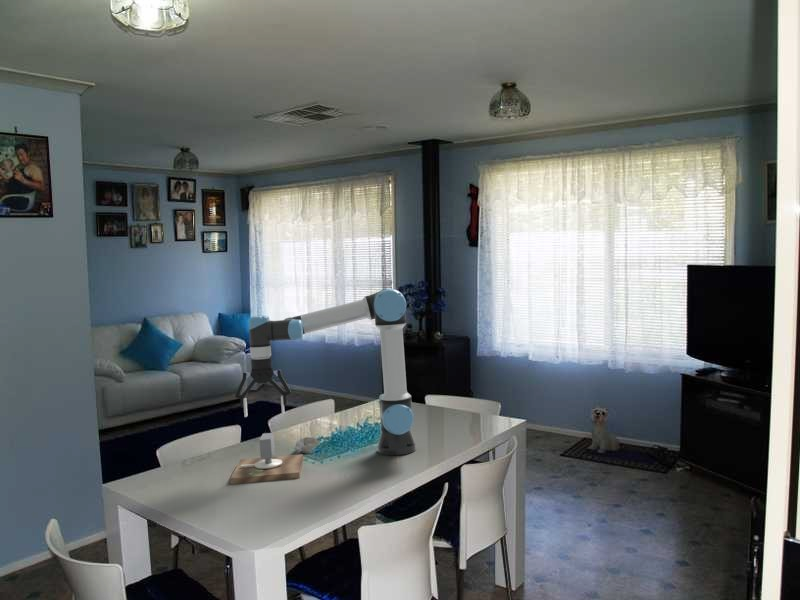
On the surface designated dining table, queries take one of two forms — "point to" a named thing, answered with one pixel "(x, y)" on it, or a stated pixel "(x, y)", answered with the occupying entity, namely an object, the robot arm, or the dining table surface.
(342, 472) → the dining table surface
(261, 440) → the tuning knob
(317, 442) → the fossilized seashell
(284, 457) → the dial board
